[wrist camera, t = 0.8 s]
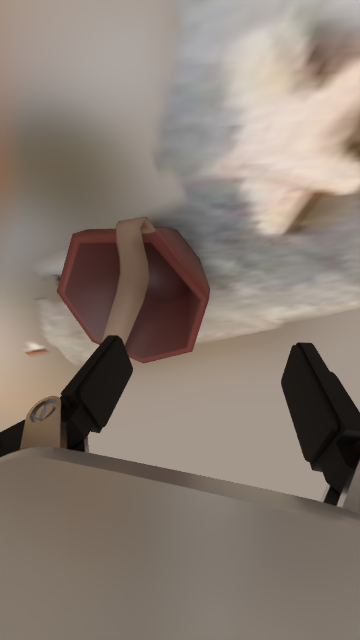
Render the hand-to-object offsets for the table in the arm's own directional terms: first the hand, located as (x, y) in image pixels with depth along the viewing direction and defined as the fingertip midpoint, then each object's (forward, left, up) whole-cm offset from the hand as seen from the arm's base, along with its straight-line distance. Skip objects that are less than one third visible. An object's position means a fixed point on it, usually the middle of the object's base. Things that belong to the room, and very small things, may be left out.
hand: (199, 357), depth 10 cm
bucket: (0, -12, -32) cm, 34 cm away
